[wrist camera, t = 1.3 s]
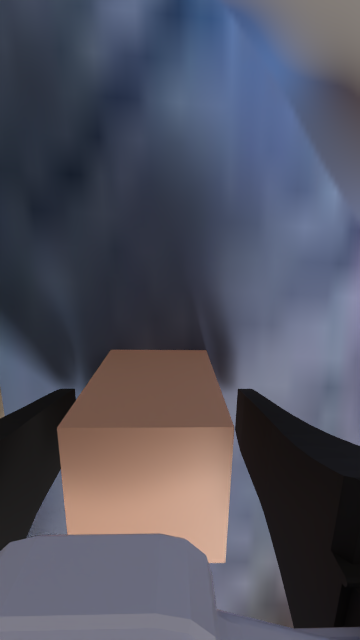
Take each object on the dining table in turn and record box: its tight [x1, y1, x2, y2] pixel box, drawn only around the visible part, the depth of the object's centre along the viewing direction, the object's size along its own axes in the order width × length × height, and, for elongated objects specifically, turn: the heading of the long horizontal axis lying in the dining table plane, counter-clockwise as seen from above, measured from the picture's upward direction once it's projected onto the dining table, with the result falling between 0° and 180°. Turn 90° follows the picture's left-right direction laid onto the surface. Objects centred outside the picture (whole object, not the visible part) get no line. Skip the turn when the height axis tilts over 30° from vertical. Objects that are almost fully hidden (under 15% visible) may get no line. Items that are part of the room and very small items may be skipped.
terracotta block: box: [57, 350, 234, 563], centre depth 10 cm, size 4×4×6 cm
